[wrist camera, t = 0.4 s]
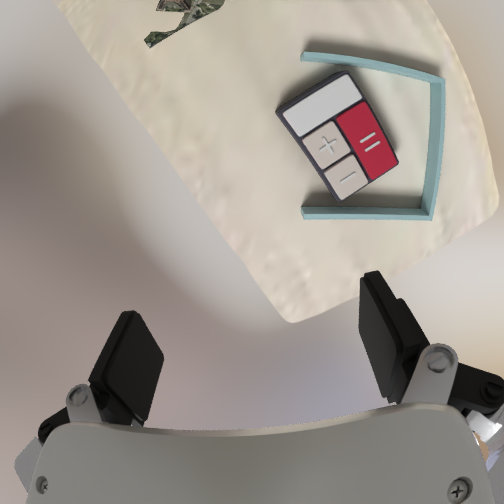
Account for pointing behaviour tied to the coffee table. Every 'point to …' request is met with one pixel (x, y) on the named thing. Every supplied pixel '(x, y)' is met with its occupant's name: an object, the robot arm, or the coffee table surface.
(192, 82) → the coffee table surface
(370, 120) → the calculator
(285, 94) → the coffee table surface
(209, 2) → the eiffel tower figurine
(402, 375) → the robot arm
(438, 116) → the teal u-shaped piece
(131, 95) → the coffee table surface
